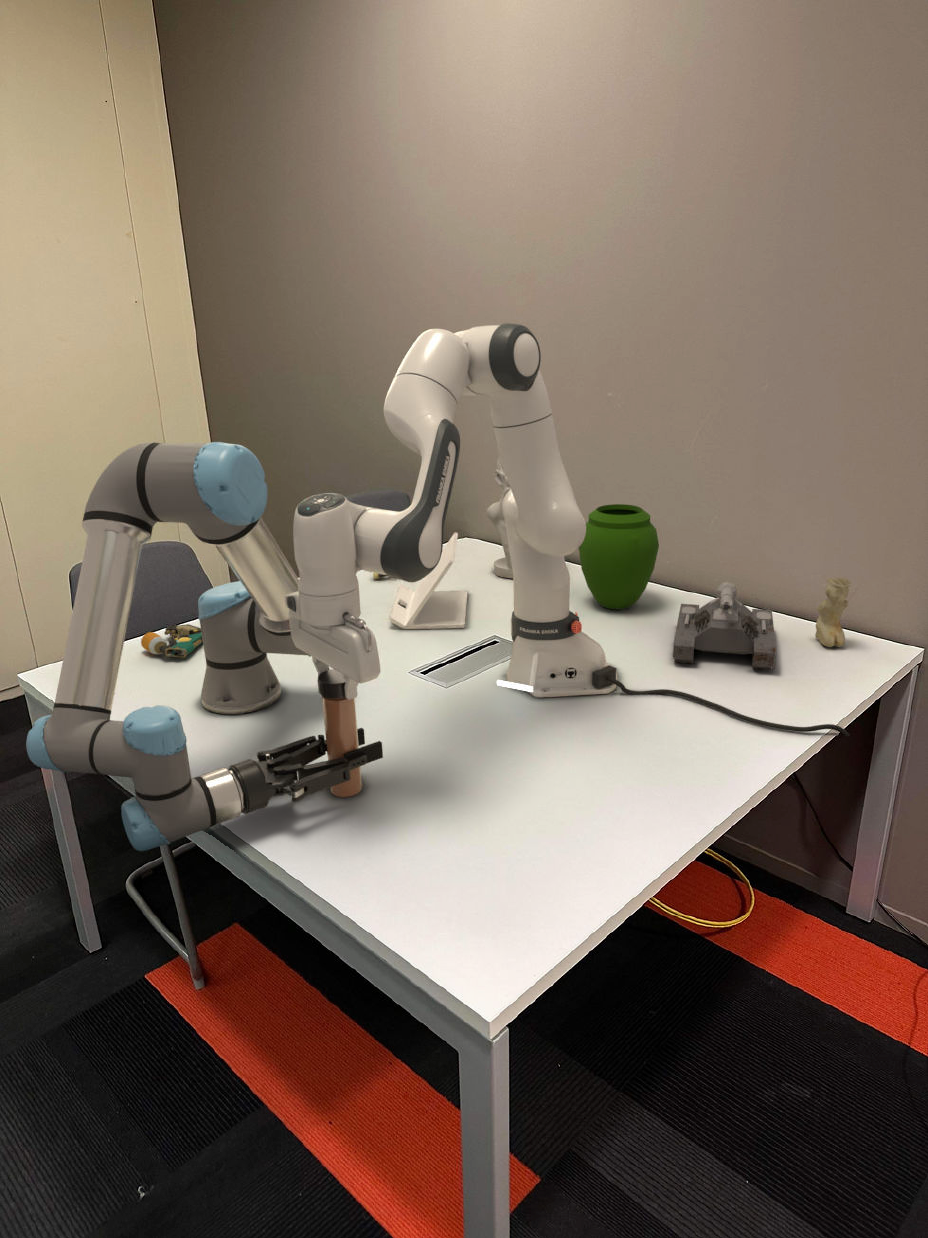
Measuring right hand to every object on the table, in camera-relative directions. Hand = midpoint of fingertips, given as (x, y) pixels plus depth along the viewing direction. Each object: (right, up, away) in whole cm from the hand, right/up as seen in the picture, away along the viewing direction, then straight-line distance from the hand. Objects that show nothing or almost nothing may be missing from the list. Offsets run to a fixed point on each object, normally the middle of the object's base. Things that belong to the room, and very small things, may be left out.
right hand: (337, 689), depth 131 cm
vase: (+58, +14, +83) cm, 102 cm away
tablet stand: (+11, +13, +83) cm, 85 cm away
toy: (+76, +5, +56) cm, 94 cm away
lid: (0, +2, -1) cm, 2 cm away
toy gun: (0, +25, +115) cm, 118 cm away
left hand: (+5, -9, +7) cm, 12 cm away
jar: (0, -16, +6) cm, 18 cm away
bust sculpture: (+37, +23, +108) cm, 116 cm away
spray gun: (-46, +4, +65) cm, 80 cm away
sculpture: (+99, +5, +56) cm, 114 cm away
